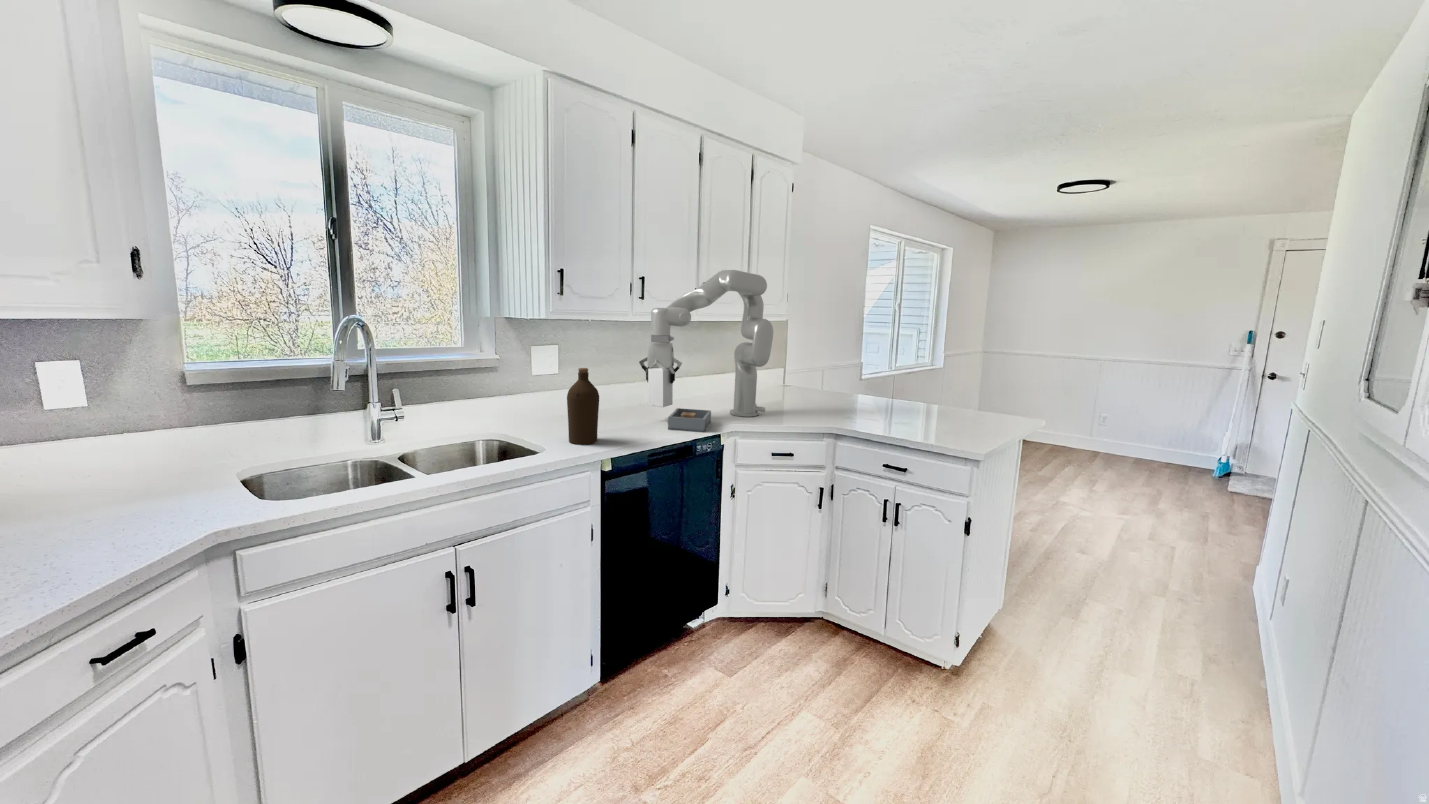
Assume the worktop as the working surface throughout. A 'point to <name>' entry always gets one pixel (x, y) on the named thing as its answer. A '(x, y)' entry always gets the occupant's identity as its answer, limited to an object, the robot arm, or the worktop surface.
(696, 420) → the tote
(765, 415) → the worktop surface
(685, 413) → the walnut cube
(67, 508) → the worktop surface
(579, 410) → the olive oil
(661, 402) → the milk carton
